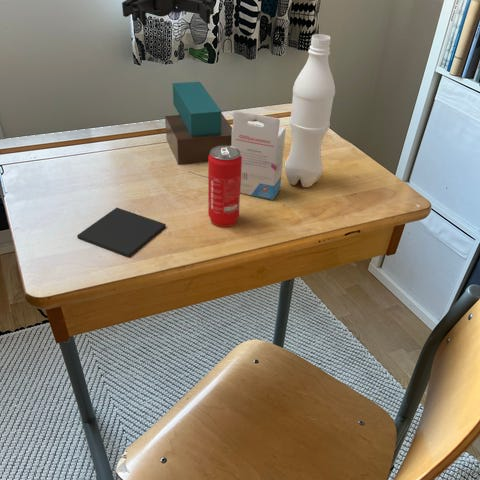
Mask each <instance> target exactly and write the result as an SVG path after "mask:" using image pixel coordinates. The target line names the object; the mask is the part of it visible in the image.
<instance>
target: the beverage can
mask: <svg viewBox="0 0 480 480" xmlns="http://www.w3.org/2000/svg"><path fill="white" fill-rule="evenodd" d="M240 154H241V153H240V151H239V150H238V149H237V148H235V147H231V146H217V147H214V148H212V149H211V151H210V155H209V157H208V163H207V165H208V166H207V167H208V169H207V170H208V175H207V177H208V179H207V180H208V181H207V182H208V183H207V184H208V190H207V191H208V192H207V193H208V194H207V195H208V200H207V205H208V206H207V207H208V209H207V210H208V213H207V214H208V217H209V219H210V222H211V223H212V224H213V225H215V226H217V227H220V228H221V227H223V228H225V227H226V228H227V227H231V226H234V225H235V224H236V223H237V221H238V219H239V217H240V207H241V193H240V187H241V166H242V157H241V155H240Z"/></svg>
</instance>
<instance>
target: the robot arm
mask: <svg viewBox="0 0 480 480" xmlns="http://www.w3.org/2000/svg"><path fill="white" fill-rule="evenodd" d="M121 8H122V16H123V17H124V18H127V17H129V16H131V20H132V21H133V22H138V20H139V22H140V24H141V26H142V27H146V26H148V25H147V14H148V13H150V14H152V15H154V16H156V17H161V18H162V17H166V16H169V15H171V14H172V13H173V12H174V13H182V12H184V13H185V12H186V13H191V14H195V15H198V16H199V18H200V19H201V20H202V21H203V22H204V23H205V24H207V25H210V24H211V16H212V15H214V14H215V1H214V0H124V1H122V2H121Z"/></svg>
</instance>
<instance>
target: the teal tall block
mask: <svg viewBox="0 0 480 480" xmlns="http://www.w3.org/2000/svg"><path fill="white" fill-rule="evenodd" d="M172 104H173V106H174V108H175V110H176V112H177V113H178V115H180V117H181V119H182V120H183V122H184V124H185V126H186V128H187V129H188V131H189V133H190V135H191V136H202V135H213V134H221V114H223V113H222V110H221V109H220V107H219V106H218V104H217V103H216V101H215V100H214V99H213V97H212V96H211V95H210V93H209V92H208V91H207V89H206V88H205V86H204V85H203V84H202V82H201V81H188V82H187V81H186V82H172Z"/></svg>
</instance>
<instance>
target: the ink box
mask: <svg viewBox="0 0 480 480" xmlns="http://www.w3.org/2000/svg"><path fill="white" fill-rule="evenodd" d="M256 121H257V122H256ZM280 121H281V120H280V118H278V117H273V116H267V115H262V114H256V113H250V112H244V111H238V110H234V111H233V112H232V146H231V147H235V148H237V149H238V150H239V151H240V153H241V154H240V155H241V157H242V166H241V187H240V194H242V195H247V196H251V197H257V198H262V199H266V200H271V201H273V200H274V199H275V197H276V196H277V194H278V193H279V191H280V189H281V184H282V173H283V162H284V153H285V143H286V142H285V141H286V130H287V129H286V126H285V127H284V126H280V124H281V123H280Z"/></svg>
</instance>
